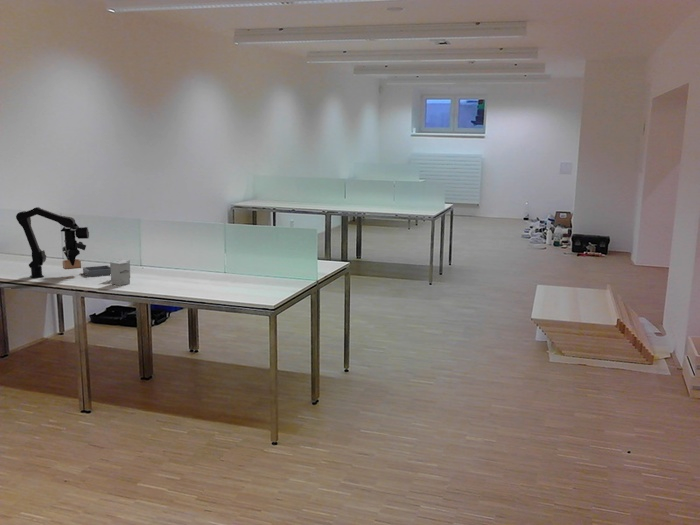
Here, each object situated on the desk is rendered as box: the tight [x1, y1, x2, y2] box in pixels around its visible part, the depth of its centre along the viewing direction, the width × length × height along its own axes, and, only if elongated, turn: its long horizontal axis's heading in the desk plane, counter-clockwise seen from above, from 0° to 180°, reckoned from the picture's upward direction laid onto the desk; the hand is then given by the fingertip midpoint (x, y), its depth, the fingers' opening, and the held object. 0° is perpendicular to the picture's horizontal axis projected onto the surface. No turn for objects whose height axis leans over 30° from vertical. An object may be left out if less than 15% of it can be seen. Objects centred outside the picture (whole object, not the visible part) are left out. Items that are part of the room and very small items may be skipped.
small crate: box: [62, 258, 82, 270], centre depth 374 cm, size 6×9×4 cm, turn 125°
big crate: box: [82, 265, 111, 278], centre depth 384 cm, size 15×15×4 cm
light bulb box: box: [109, 259, 131, 271], centre depth 368 cm, size 11×7×11 cm, turn 168°
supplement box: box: [109, 261, 131, 286], centre depth 353 cm, size 7×7×13 cm
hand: (71, 264), depth 375 cm, fingers closed on small crate, 6 cm apart
